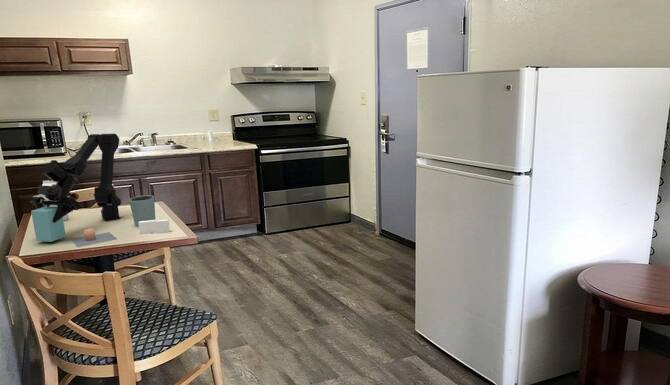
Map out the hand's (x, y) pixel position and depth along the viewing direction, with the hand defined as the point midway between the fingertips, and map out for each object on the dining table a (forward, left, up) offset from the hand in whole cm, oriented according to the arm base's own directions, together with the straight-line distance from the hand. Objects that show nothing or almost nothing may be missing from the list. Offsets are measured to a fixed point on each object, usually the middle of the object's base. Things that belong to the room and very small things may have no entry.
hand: (45, 222), depth 179 cm
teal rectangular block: (-1, -1, -7) cm, 7 cm away
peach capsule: (-13, +8, -8) cm, 18 cm away
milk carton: (-8, -37, -9) cm, 39 cm away
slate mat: (-14, +9, -8) cm, 19 cm away
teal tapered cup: (-36, +1, -9) cm, 37 cm away
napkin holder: (-35, +17, -9) cm, 40 cm away
